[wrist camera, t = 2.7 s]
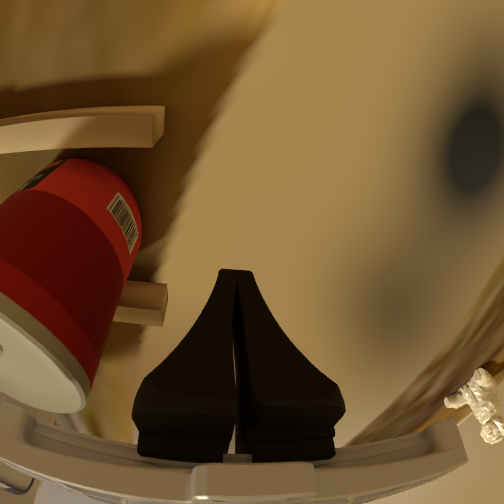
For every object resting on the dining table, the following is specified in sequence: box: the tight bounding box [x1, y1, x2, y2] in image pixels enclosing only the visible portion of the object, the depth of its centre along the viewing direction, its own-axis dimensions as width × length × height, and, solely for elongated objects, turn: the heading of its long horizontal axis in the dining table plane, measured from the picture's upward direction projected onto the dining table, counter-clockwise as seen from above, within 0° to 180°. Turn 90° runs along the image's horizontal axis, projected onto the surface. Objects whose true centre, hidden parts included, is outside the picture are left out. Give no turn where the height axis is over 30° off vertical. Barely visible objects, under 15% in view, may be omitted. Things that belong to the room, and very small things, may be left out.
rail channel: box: [0, 105, 168, 327], centre depth 16 cm, size 13×12×2 cm
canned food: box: [0, 158, 142, 413], centre depth 12 cm, size 8×8×11 cm
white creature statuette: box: [444, 367, 504, 444], centre depth 31 cm, size 10×9×12 cm
